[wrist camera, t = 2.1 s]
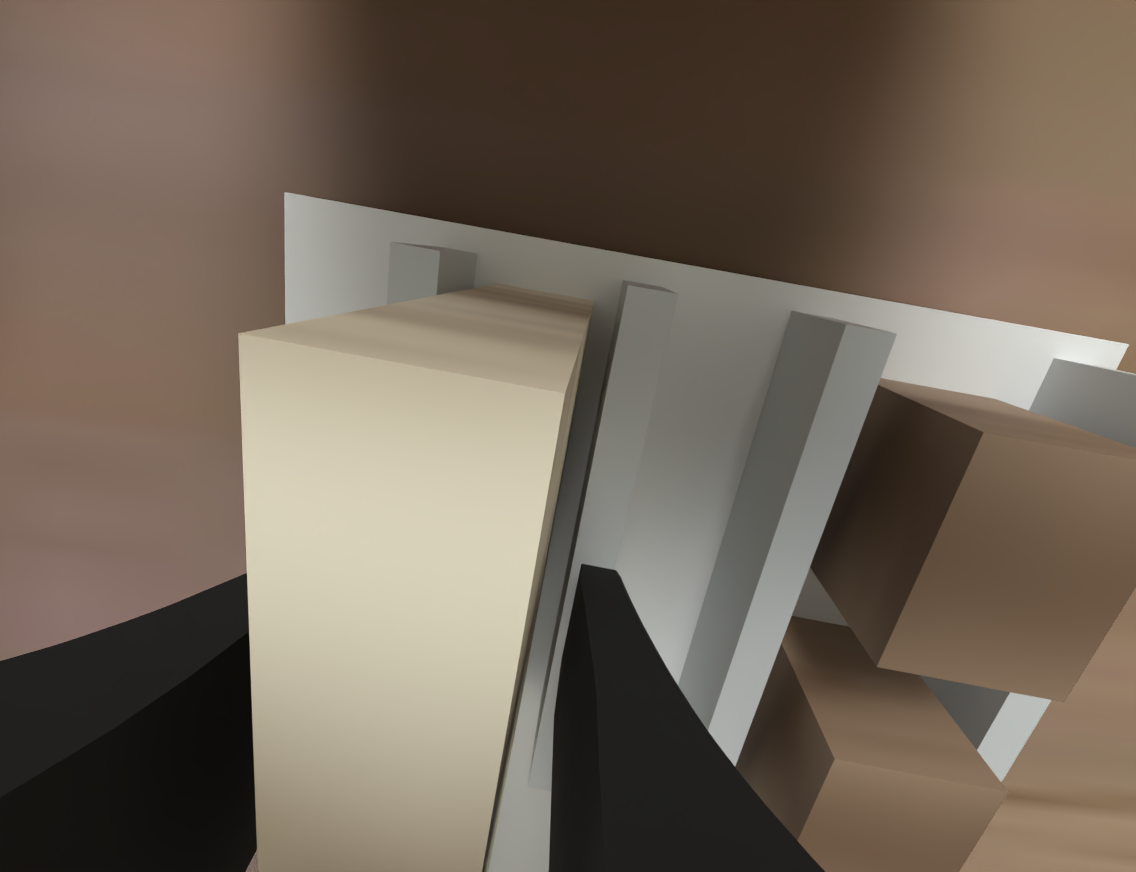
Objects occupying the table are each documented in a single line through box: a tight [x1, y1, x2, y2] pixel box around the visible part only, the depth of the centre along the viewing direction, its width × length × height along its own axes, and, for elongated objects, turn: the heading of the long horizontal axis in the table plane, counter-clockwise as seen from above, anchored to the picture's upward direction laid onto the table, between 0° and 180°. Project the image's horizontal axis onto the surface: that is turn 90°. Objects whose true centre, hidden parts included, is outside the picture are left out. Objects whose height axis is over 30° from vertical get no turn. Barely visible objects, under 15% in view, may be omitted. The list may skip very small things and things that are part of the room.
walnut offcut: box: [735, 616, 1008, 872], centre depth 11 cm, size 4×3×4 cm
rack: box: [284, 192, 1136, 872], centre depth 14 cm, size 24×17×4 cm
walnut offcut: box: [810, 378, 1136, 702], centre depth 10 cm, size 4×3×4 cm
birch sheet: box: [238, 283, 594, 872], centre depth 9 cm, size 10×2×8 cm, turn 170°
